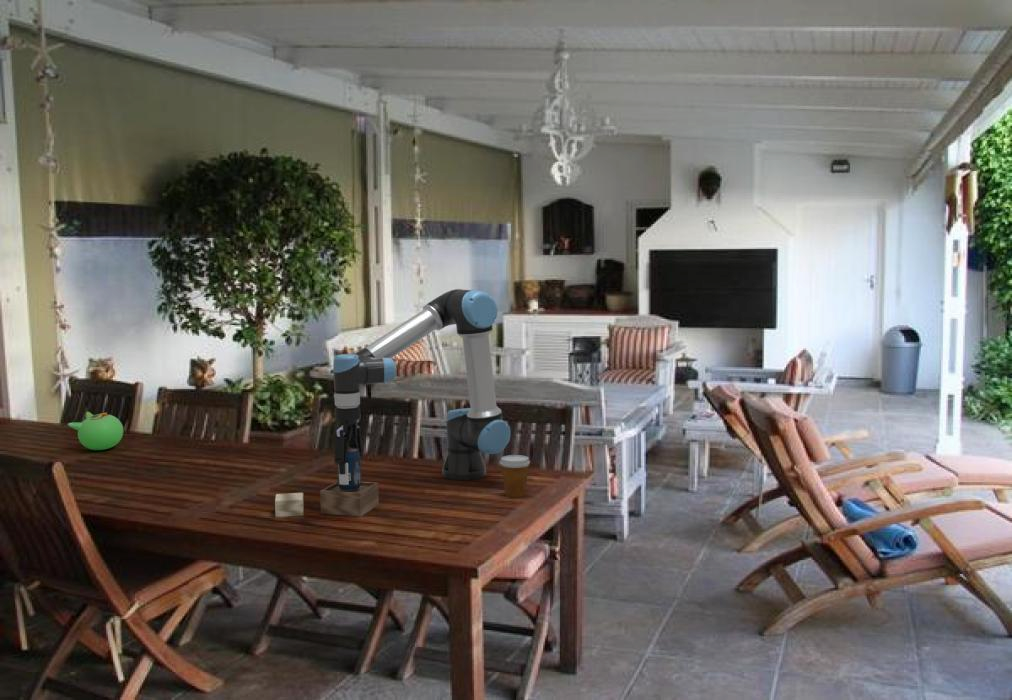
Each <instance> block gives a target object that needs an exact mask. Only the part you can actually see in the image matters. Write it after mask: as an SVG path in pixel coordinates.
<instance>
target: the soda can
mask: <svg viewBox="0 0 1012 700" xmlns="http://www.w3.org/2000/svg"><path fill="white" fill-rule="evenodd" d="M360 454H361V453H359V451H358V448H352V447H350V446H348V454H347V462H346V463H348V477H349V484H348V485H342V484H339V463H336V465H337V481H338V486H339V488H340V489H341V490H344V491H352V490H357V489H359V487H360V485H361V482H362V468H361V467H362V463H361V461H362V460H361V457H360Z"/></svg>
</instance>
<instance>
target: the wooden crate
mask: <svg viewBox="0 0 1012 700" xmlns="http://www.w3.org/2000/svg"><path fill="white" fill-rule="evenodd" d="M319 498H320V499H319V500H320V501H319V502H320V514H322V515H323V514H324V515H325V514H327V515H337V516H347V517H351V516H352V517H360V518H361V517H362V516H364V515H366V514H367V513H369V512H370V511H371V510H373V509H374V508H376V507H378V506H379V503H380V502H379V482H374V481H373V482H371V481H361V485H360V487H359V489H357V490H352V491H344V490H341V489H340V488H339V486H338V480H337V481H335V482H333V483H332V484H330V485H328V486H326V487H325V488H322V489H321V490H319Z"/></svg>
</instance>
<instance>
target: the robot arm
mask: <svg viewBox="0 0 1012 700" xmlns="http://www.w3.org/2000/svg"><path fill="white" fill-rule="evenodd" d="M497 317H498V306H497V303H496V301H495V299H494V298H493V296H492V295H490V294H489V293H488V292H484V291H481V290H477V289H461V288H456V289H451V290H449V291H447V292H444V293H442V294H441V295H439V296H437V297H436V298H434V299H433V300H431V301H429V302H428V303H426V304H425V305H424V306H423V307H422V310H421V311H419V312H417V314H415V315H413V316H411V317H410V318H408V319H407V320H406V321H404V322H402V323H401V324H399V325H398V326H396V327H395V328H393V329H392V330H390V331H388V332H387V333H385V334H384V335H382V336H380V337H379V338H377V339H376V340H374V341H373V342H371V343H369V345H367V346H365V347H363V348H362V349H361V350H358V351H357V352H355V353H354V352H352V353H347V354H346V353H343V354H337V355H336V356H335V357H334V358H333V365H332V367H333V370H332V373H333V388H334V393H333V398H334V405H335V408H334V419H335V420H336V421H338V422H339V424H338V425H339V426H338V429H334V430H333V434H334V463H335V464H337V463H339V484H342V485H348V484H349V477H348V463H346V462H347V454H348V448H349V447H352V448H358V451H359V453H360V458H362V457H363V451H364V449H363V441H362V440H363V439H362V437H363V436H362V422H361V421H357V420H359V419H361V407H360V404H361V395H360V394H361V393H360V389H361V388H360V387H361V386H364V385H372V384H385V383H389V382H393V381H394V380H395V379H396V377H397V365H396V362H395V360H394V359H393V358H394V357H395V356H397V355H399V354H400V353H402V352H403V351H405V350H406V349H409V347H411V346H412V345H414V344H416V343H417V342H418V341H420V340H421V339H423V338H424V337H426V336H427V335H429V334H431V333H432V332H434V331H435V330H436V331H441V330H442V329H444V328H445V327H448V326H453V325H456V333H457V335H458V336H459V337H460V338H462V346H463V353H464V354H463V356H464V363H465V371H466V380H467V388H468V389H467V390H468V398H469V406H470V407H467V408H457V409H451V410H448V411H447V414H446V421H445V423H446V455H445V459H444V462H443V466H442V469H441V471H442V474H441V475H442V477H444V478H446V479H449V480H459V481H463V480H464V481H469V480H477V479H480V478H484V477H485V476H486V475H487V467H486V464H485V460H484V458H483V455H482V454H489V455H496V454H498V453H501V452H502V451H503V450H504V449H505V448H506V446H507V445H508V444H509V442H510V439H511V427H510V426H509V424H508V423H507V422H506V421H505V420H503V412H502V409H501V408H499V407H498V405H497V398H496V390H495V381H494V371H493V364H492V363H493V362H492V354H491V346H490V345H491V344H490V336H489V335H490V334H491V333H492V332H493V324H495V322H496V321H495V320H496V319H497Z"/></svg>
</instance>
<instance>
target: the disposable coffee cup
mask: <svg viewBox="0 0 1012 700" xmlns="http://www.w3.org/2000/svg"><path fill="white" fill-rule="evenodd" d="M499 463H500V466H501V471H502V480H503V486H504V495H505V496H506V497H507V498H508V497H509V498H523V497H525V495H526V490H527V481H528V472H529V466H530V463H531V461H530V459H529V457H528V456H526V455H520V454H510V455H509V454H508V455H504V456H502V457H501V459H500V461H499Z"/></svg>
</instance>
